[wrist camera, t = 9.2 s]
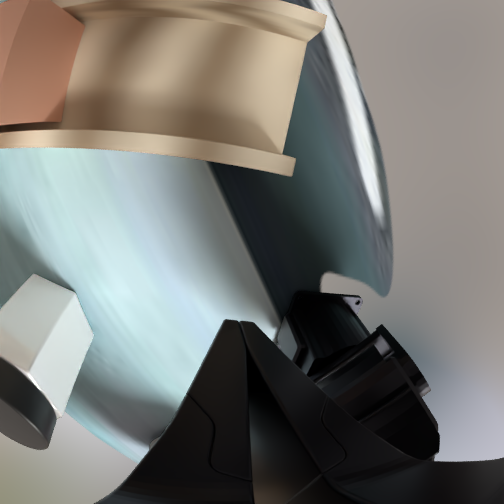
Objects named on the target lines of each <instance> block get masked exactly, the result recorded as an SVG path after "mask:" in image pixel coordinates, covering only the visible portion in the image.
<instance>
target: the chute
mask: <svg viewBox="0 0 504 504" xmlns="http://www.w3.org/2000/svg"><path fill="white" fill-rule="evenodd" d="M51 1H52V2H53V3H55V4H56V5H58V6H59V7H61V8H62V9H63V10H65V11H66V12H67V13H69V14H70V15H71V16H73V17H74V18H75V19H77V20H78V21H79V22H81V23H82V24H83V25H85V29H84V32H83V34H82V37H81V40H80V44H79V47H78V50H77V53H76V57H75V60H74V64H73V68H72V72H71V76H70V80H69V84H68V89H67V93H66V98H65V104H64V109H63V115H62V121H61V122H41V123H25V124H14V125H4V126H0V148H31V147H54V148H87V149H105V150H119V151H131V152H141V153H151V154H160V155H169V156H177V157H184V158H191V159H198V160H205V161H212V162H218V163H224V164H230V165H236V166H241V167H247V168H252V169H257V170H262V171H267V172H272V173H277V174H281V175H286V176H291V177H292V174H293V169H294V165H295V161H296V158H292V157H289V156H286V155H282V153H283V148H284V144H285V139H286V135H287V131H288V126H289V122H290V117H291V113H292V108H293V104H294V100H295V95H296V91H297V86H298V82H299V77H300V73H301V68H302V63H303V59H304V54H305V50H306V45H307V42H308V41H310V40H311V39H312V38H313V37H314V36H316V35H317V34H318V33H319V32H320V31H322V30H323V29H324V28H325V23H326V18H327V15H324V14H322V13H319V12H316V11H313V10H310V9H307V8H304V7H301V6H298V5H295V4H291V3H288V2H284V1H280V0H51Z"/></svg>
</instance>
